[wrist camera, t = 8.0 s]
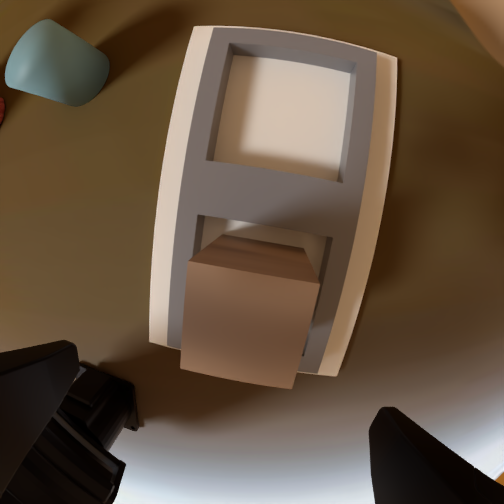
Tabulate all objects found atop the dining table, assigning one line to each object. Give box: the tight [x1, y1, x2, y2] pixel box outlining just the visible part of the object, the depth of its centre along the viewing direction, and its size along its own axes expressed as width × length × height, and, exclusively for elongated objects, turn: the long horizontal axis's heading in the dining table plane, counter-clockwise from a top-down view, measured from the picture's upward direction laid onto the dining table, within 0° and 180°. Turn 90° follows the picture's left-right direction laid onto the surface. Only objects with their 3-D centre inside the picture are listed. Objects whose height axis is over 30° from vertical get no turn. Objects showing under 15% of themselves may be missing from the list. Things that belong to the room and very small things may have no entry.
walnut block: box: [180, 234, 320, 389], centre depth 14 cm, size 5×5×7 cm
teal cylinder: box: [5, 19, 110, 107], centre depth 13 cm, size 5×5×7 cm
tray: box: [149, 26, 397, 376], centre depth 16 cm, size 23×14×2 cm, turn 171°
